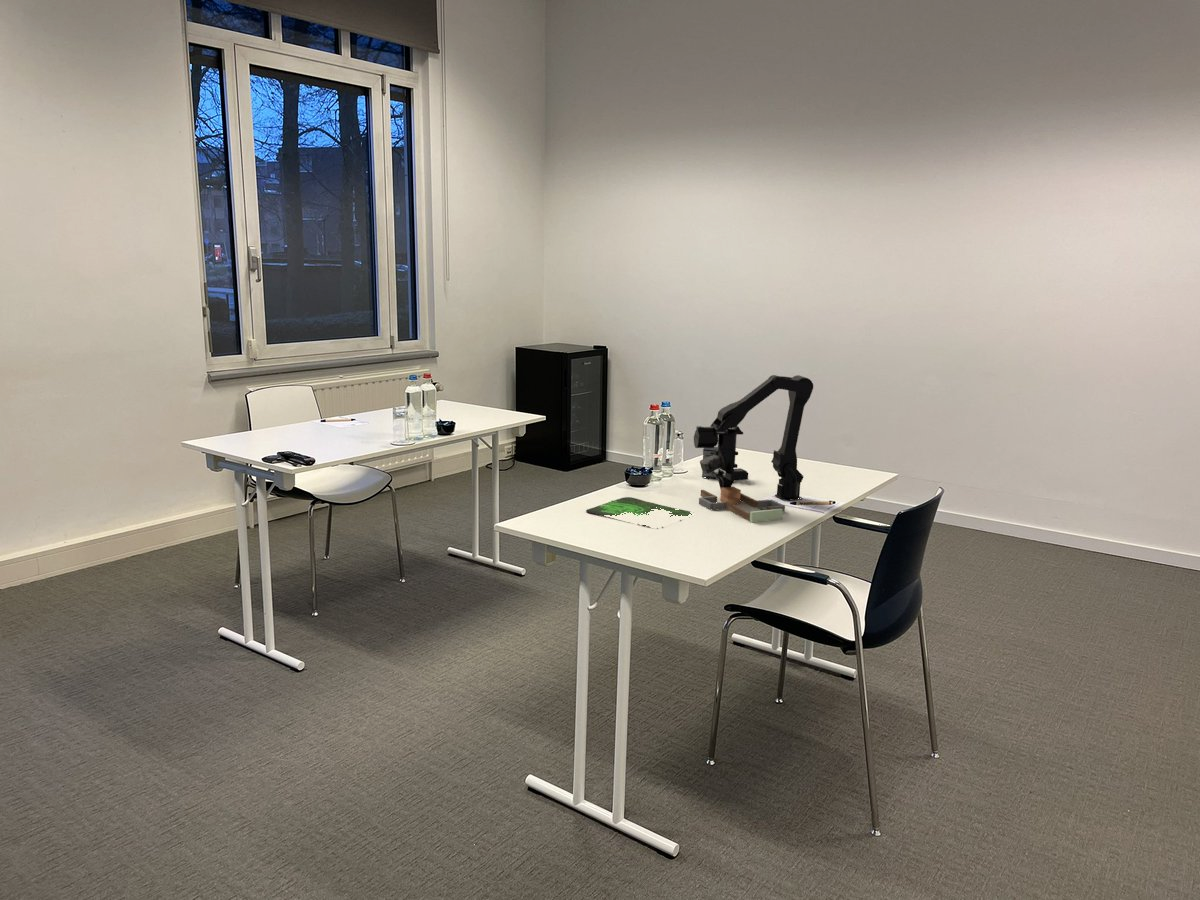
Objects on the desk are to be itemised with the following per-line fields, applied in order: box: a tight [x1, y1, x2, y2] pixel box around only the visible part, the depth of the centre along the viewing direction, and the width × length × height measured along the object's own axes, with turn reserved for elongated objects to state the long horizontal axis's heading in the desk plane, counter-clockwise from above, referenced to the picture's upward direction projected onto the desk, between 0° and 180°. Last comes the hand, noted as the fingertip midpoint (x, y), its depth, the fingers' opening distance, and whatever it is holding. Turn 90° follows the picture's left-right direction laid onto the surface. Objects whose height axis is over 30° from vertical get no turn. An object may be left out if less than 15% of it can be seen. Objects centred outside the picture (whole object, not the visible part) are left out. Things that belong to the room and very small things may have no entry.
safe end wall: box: [749, 509, 784, 523], centre depth 261 cm, size 10×1×3 cm, turn 112°
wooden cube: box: [719, 486, 742, 505], centre depth 279 cm, size 4×4×4 cm
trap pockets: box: [698, 496, 786, 514], centre depth 274 cm, size 21×17×2 cm
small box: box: [701, 446, 718, 479], centre depth 312 cm, size 11×6×10 cm, turn 76°
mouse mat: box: [585, 496, 692, 527], centre depth 266 cm, size 27×22×1 cm
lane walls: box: [700, 489, 773, 522], centre depth 275 cm, size 10×30×2 cm, turn 22°
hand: (723, 495), depth 283 cm, fingers closed
